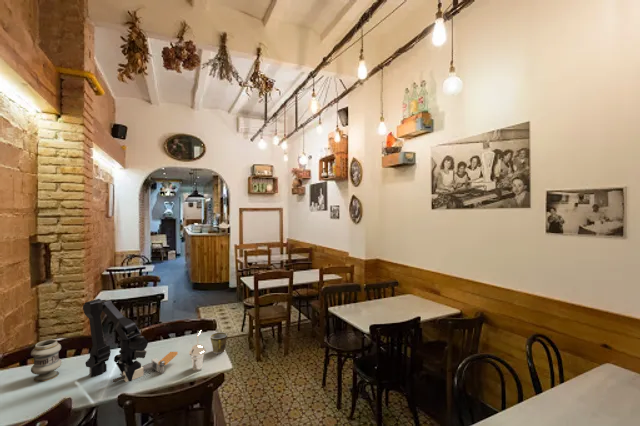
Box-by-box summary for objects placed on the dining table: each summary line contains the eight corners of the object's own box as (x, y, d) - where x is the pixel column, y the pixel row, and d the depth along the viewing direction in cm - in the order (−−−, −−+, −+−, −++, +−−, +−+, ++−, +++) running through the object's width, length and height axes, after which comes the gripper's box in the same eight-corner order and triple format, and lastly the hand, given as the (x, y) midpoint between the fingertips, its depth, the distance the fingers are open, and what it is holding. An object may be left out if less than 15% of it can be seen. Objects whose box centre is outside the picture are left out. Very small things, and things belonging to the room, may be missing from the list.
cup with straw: (185, 372, 163) (185, 335, 163) (198, 364, 172) (198, 329, 172) (197, 375, 160) (197, 337, 160) (210, 367, 168) (210, 331, 168)
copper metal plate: (157, 366, 159) (157, 362, 159) (170, 354, 173) (170, 351, 173) (164, 366, 159) (164, 363, 159) (177, 354, 172) (177, 351, 172)
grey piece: (133, 388, 148) (133, 378, 148) (119, 376, 159) (119, 366, 159) (166, 374, 161) (166, 365, 161) (151, 364, 172) (151, 355, 172)
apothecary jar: (24, 384, 151) (24, 348, 151) (39, 372, 163) (39, 338, 163) (53, 381, 154) (53, 345, 154) (66, 369, 166) (66, 336, 166)
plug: (114, 386, 148) (114, 378, 148) (111, 383, 150) (111, 375, 150) (143, 375, 158) (143, 367, 158) (140, 372, 161) (140, 365, 161)
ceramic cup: (209, 349, 190) (209, 333, 190) (226, 346, 194) (226, 331, 194) (211, 358, 178) (211, 341, 178) (229, 355, 182) (229, 338, 182)
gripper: (152, 347, 154) (152, 378, 155) (137, 337, 166) (137, 366, 166) (127, 355, 146) (127, 388, 146) (113, 344, 157) (113, 375, 157)
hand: (127, 378), depth 154 cm, fingers open, 7 cm apart
